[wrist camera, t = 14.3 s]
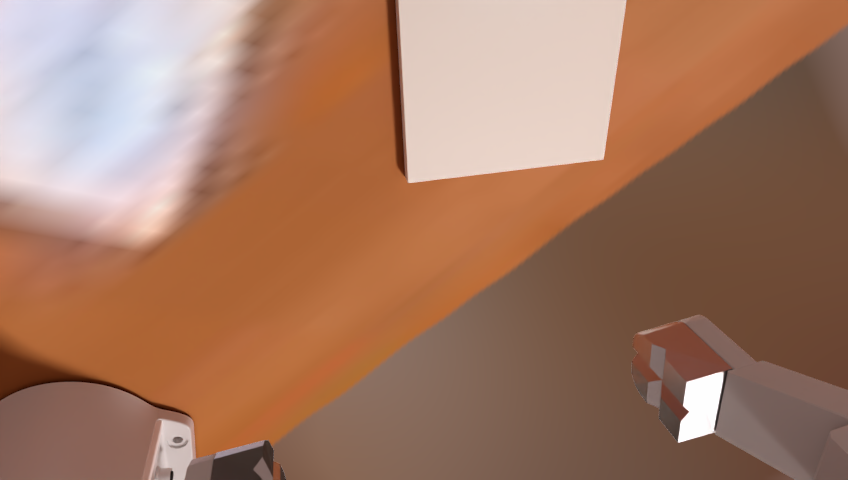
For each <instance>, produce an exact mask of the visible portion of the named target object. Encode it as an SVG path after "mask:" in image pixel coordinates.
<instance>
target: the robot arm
mask: <svg viewBox="0 0 848 480" xmlns="http://www.w3.org/2000/svg"><path fill="white" fill-rule="evenodd" d="M633 348H634V349H635V350H636V351H637V352H638V354H637V355H636V356H635V358H634V359H633V361H632V376H633V380H634V383H635V386H636V388H637V389H638V391H639V393H640V395H641V396H642V397H643V399H644V400H645V401H646V403H649V404H651V405H653V406H655V407H658V408H659V419H660V420H661V422H662V423H663V424H664V425H665V427H666V428H667V429H668V431H669V432H670V433H671V434H672V436H673V437H674V438H675V439H676V441H677V442H682V441H685V440H689V439H692V438H696V437H699V436H703V435H707V434H710V433H714V432H715V434H716V435H717V436H719V437H721V438H723V439H725V440H726V441H728V442H730V443H731V444H733V445H735V446H737V447H739V448H740V449H742V450H744V451H746V452H747V453H749V454H751V455H753V456H755V457H756V458H758V459H760V460H761V461H763V462H765V463H767V464H768V465H770V466H772V467H774V468H775V469H777V470H779V471H781V472H782V473H784V474H786V475H788V476H790V477H791V478H793V479H795V480H848V390H845V389H843V388H840V387H837V386H834V385H831V384H829V383H825V382H823V381H820V380H817V379H814V378H811V377H808V376H806V375H803V374H800V373H797V372H794V371H791V370H788V369H786V368H783V367H780V366H777V365H774V364H771V363H768V362H766V361H760V362H756V361H755V360H753V359H752V358H751V357H750V356H749V355H748V354H747V353H746V352H745V351H743V350H742V349H741V348H740V347H739V346H738V345H737V344H735V343H734V342H733V341H732V340H731V339H730V338H729V337H728V336H726V335H725V334H724V333H723V332H722V331H721V330H720V329H718V328H717V327H716V326H715V325H714V324H713V323H712V322H710V321H709V320H708V319H707V318H706V317H704V316H701V315H697V316H693V317H690V318H686V319H683V320H680V321H678V322H672V323H669V324H666V325H662V326H659V327H656V328H652V329H649V330H646V331H642V332H639V333H637V334H636V335H635V336H634V338H633ZM273 459H274V450H273V448H272V446H271V444H270V442H269V441H268V440H264V441H260V442H256V443H252V444H249V445H245V446H241V447H237V448H233V449H229V450H226V451H222V452H218V453H215V454H212V455H208V456H204V457H200V458H196V451H195V436H194V423H193V420H192V419H191V418H190V417H188V416H186V415H184V414H181V413H177V412H173V411H168V410H163V409H159V408H156V407H154V406H152V405H150V404H148V403H146V402H144V401H143V400H141V399H139V398H138V397H136V396H134V395H132V394H129V393H127V392H125V391H122V390H119V389H116V388H113V387H109V386H105V385H100V384H94V383H86V382H56V383H48V384H42V385H37V386H33V387H29V388H26V389H23V390H21V391H18V392H16V393H13V394H11V395H9V396H7V397H6V398H4V399H2V400H1V401H0V480H286V477H285V474H284V471H283V469H282V467H281V465H280V464H278V463H276V462H274V460H273Z"/></svg>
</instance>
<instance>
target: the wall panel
mask: <svg viewBox="0 0 848 480" xmlns="http://www.w3.org/2000/svg"><path fill="white" fill-rule="evenodd" d="M395 4H396V22H397V40H398V58H399V76H400V93H401V111H402V129H403V147H404V165H405V178H406V180H407V182H408V183H413V182H421V181H430V180H438V179H446V178H455V177H463V176H471V175H479V174H488V173H496V172H504V171H512V170H521V169H529V168H537V167H545V166H554V165H562V164H570V163H579V162H587V161H595V160H603V159H604V153H605V146H606V139H607V132H608V125H609V118H610V111H611V104H612V97H613V91H614V84H615V77H616V70H617V63H618V56H619V49H620V42H621V35H622V28H623V21H624V14H625V7H626V0H395Z"/></svg>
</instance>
